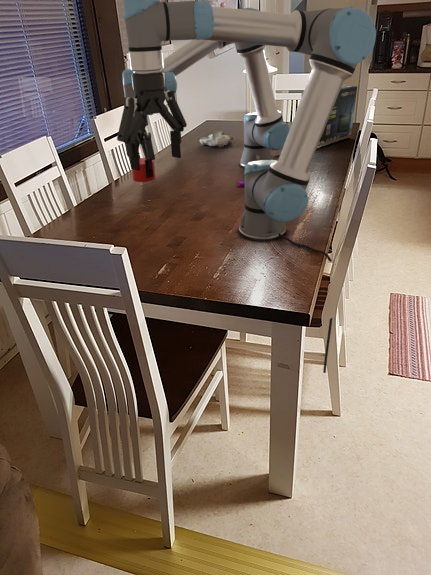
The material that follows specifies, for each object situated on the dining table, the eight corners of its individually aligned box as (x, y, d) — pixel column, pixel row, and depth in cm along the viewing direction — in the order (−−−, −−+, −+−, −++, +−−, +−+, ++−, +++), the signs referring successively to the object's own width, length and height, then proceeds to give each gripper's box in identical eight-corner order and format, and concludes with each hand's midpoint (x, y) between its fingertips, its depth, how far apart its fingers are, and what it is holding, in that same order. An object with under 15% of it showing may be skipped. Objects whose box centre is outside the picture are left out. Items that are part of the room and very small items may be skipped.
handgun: (237, 185, 191) (237, 180, 190) (255, 183, 192) (255, 178, 191) (249, 201, 173) (249, 197, 172) (269, 199, 174) (269, 194, 174)
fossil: (223, 141, 238) (204, 123, 241) (212, 159, 245) (194, 141, 248) (240, 140, 252) (222, 123, 255) (230, 156, 258) (212, 139, 262)
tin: (131, 176, 185) (129, 159, 182) (152, 174, 187) (151, 156, 184) (134, 183, 178) (132, 165, 174) (157, 180, 180) (155, 162, 176)
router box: (314, 151, 231) (318, 94, 217) (296, 148, 237) (299, 92, 224) (352, 138, 251) (358, 85, 238) (335, 135, 258) (340, 83, 245)
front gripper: (176, 65, 115) (182, 150, 126) (92, 76, 100) (107, 172, 111) (197, 66, 111) (201, 154, 122) (112, 78, 96) (126, 178, 107)
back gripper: (115, 112, 176) (122, 170, 187) (142, 120, 161) (149, 183, 172) (132, 109, 180) (139, 166, 191) (160, 117, 165) (166, 178, 176)
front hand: (156, 163), depth 117 cm, fingers open, 13 cm apart
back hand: (143, 174), depth 182 cm, fingers closed on tin, 9 cm apart
